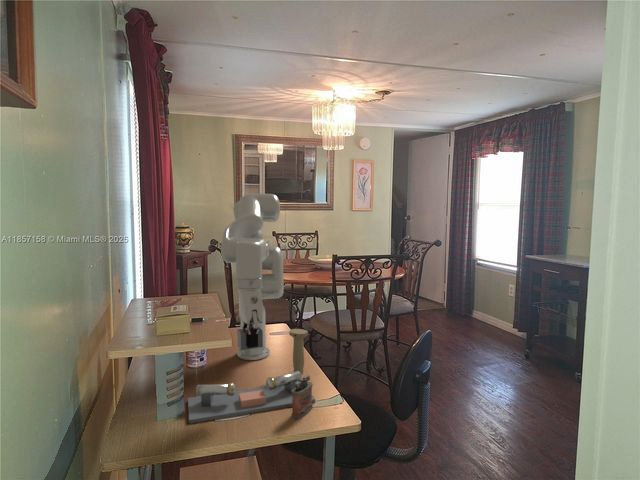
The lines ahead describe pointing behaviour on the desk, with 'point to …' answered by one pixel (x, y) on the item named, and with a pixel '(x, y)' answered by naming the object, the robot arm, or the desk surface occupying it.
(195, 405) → the base plate
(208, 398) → the shaft
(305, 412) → the lighter
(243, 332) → the block
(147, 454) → the desk surface
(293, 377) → the shaft
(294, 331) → the handle
